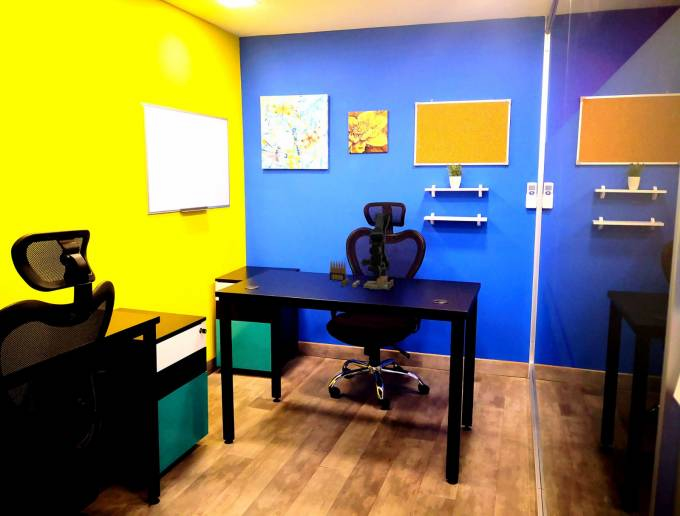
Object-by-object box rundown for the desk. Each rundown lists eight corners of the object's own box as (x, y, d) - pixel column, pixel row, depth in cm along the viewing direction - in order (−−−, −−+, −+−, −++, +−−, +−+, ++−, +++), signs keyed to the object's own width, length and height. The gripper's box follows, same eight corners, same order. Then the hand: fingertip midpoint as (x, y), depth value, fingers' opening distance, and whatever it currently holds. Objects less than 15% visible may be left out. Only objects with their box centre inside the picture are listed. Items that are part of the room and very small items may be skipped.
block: (380, 282, 311) (380, 275, 311) (387, 282, 310) (387, 276, 310) (376, 285, 302) (377, 278, 301) (384, 285, 301) (384, 279, 300)
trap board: (347, 283, 318) (347, 277, 318) (393, 285, 311) (393, 279, 311) (341, 287, 306) (341, 281, 305) (389, 289, 299) (389, 283, 298)
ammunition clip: (346, 281, 323) (346, 261, 322) (345, 282, 322) (345, 262, 320) (330, 280, 328) (330, 260, 326) (329, 280, 326) (329, 260, 325)
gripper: (366, 251, 316) (365, 278, 318) (358, 255, 298) (358, 283, 300) (385, 252, 313) (384, 279, 315) (378, 256, 295) (378, 284, 297)
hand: (376, 281), depth 307 cm, fingers closed, pressing on block
